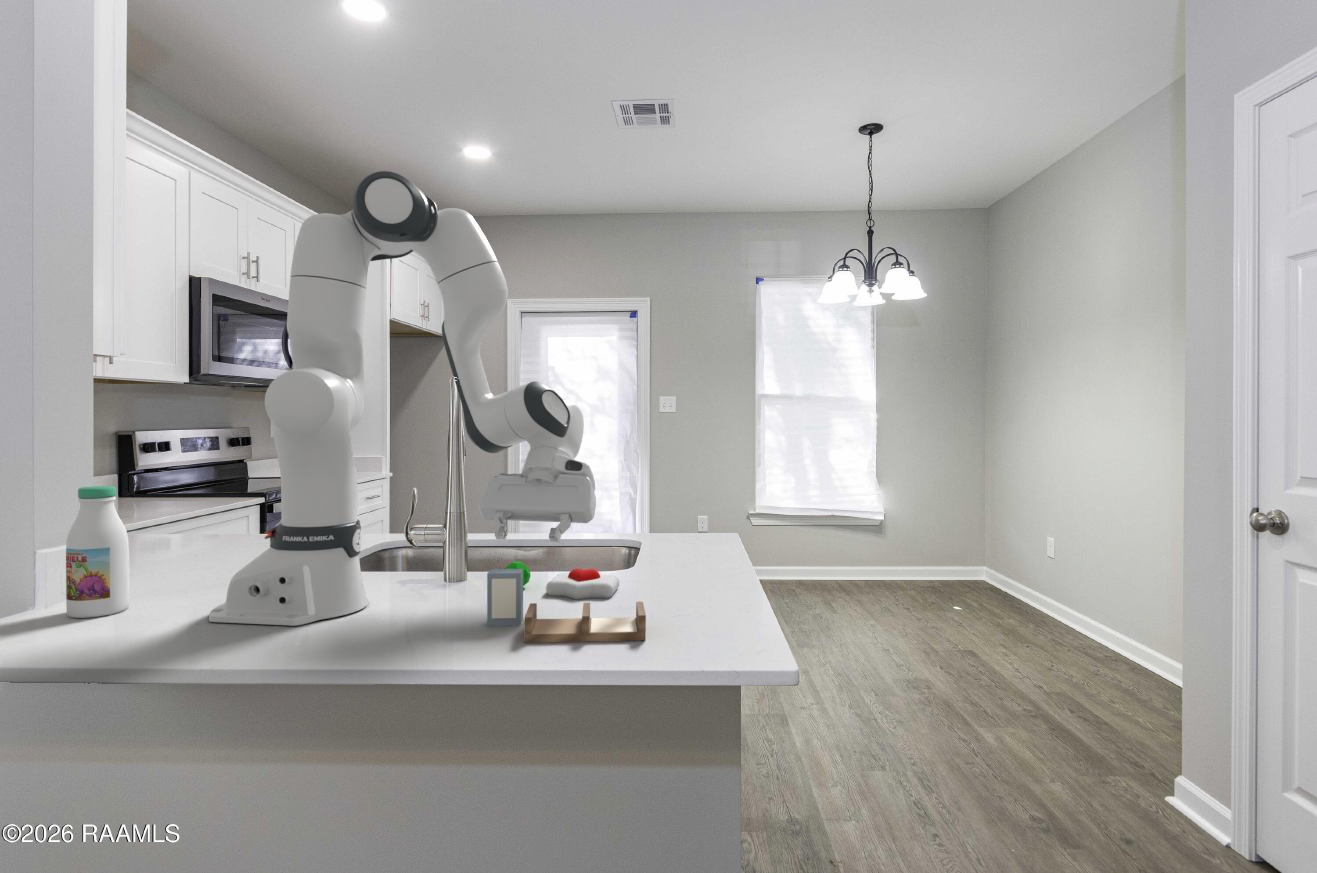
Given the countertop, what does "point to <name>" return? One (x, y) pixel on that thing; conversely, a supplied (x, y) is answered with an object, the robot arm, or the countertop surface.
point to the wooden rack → (584, 627)
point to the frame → (504, 597)
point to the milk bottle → (97, 557)
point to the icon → (583, 584)
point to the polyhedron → (521, 566)
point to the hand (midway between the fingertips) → (526, 538)
